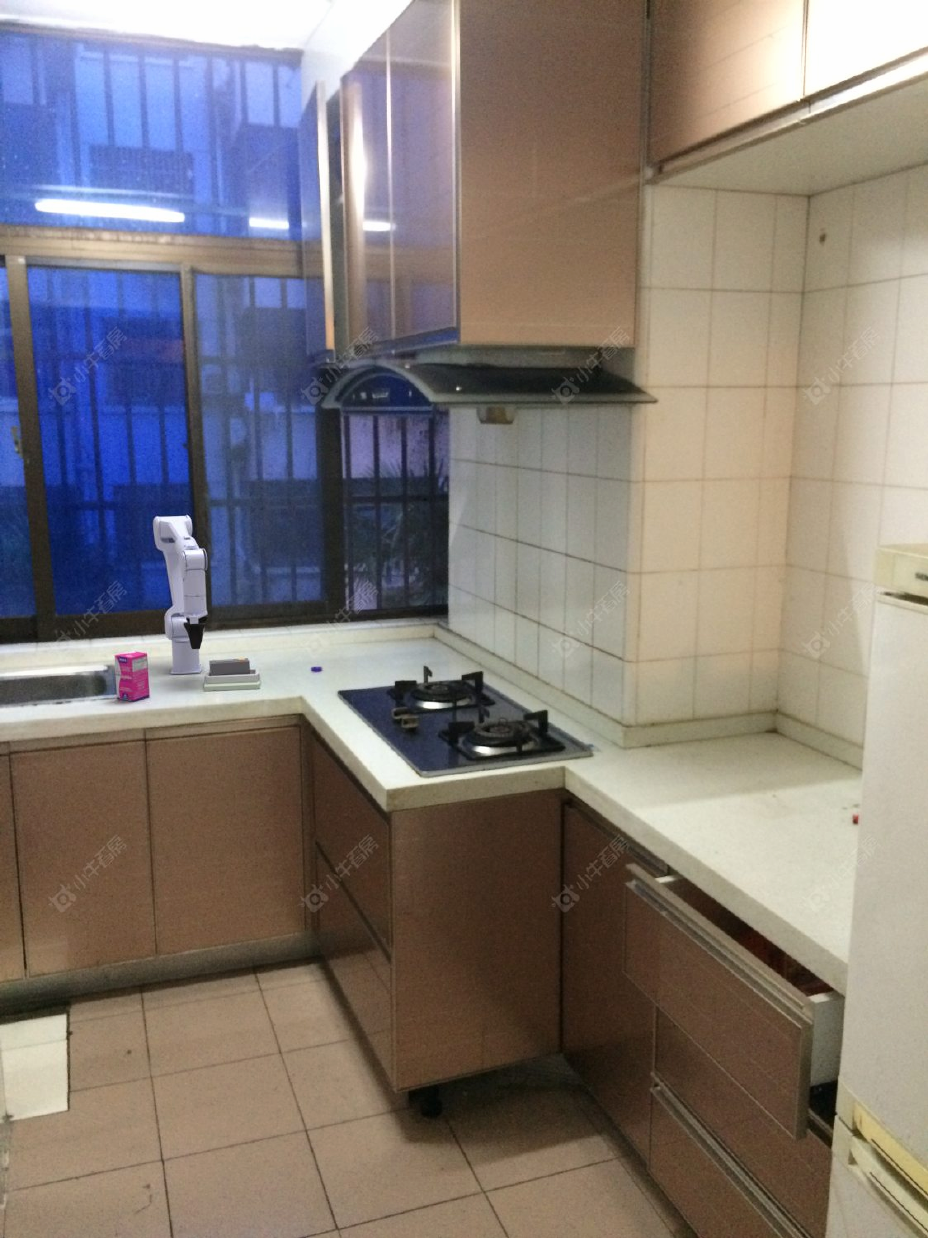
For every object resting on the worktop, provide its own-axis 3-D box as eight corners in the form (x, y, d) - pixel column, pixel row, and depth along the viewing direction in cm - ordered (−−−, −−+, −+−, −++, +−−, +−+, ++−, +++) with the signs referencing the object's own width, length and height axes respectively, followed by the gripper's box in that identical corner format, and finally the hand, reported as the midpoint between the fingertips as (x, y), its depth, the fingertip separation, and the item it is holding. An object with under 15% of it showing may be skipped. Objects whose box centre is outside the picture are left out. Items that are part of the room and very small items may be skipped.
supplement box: (116, 699, 256) (113, 654, 254) (133, 694, 261) (131, 650, 259) (133, 702, 253) (130, 657, 251) (150, 697, 259) (148, 652, 256)
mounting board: (206, 678, 278) (206, 667, 277) (259, 676, 280) (259, 665, 280) (204, 691, 264) (203, 679, 264) (259, 688, 267) (259, 677, 266)
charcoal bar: (210, 679, 272) (209, 659, 271) (248, 676, 275) (247, 657, 274) (211, 682, 269) (210, 662, 268) (250, 679, 272) (249, 660, 271)
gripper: (180, 591, 276) (183, 641, 278) (176, 600, 262) (179, 652, 264) (207, 590, 277) (210, 640, 279) (205, 599, 263) (207, 651, 265)
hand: (196, 646), depth 272 cm, fingers open, 7 cm apart
